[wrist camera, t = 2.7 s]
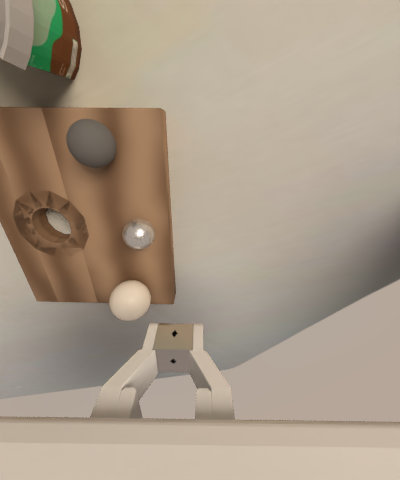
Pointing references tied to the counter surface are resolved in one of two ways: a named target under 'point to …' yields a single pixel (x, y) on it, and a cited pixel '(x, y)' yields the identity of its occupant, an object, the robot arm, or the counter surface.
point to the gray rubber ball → (91, 143)
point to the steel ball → (138, 233)
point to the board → (86, 203)
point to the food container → (40, 35)
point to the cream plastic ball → (130, 300)
